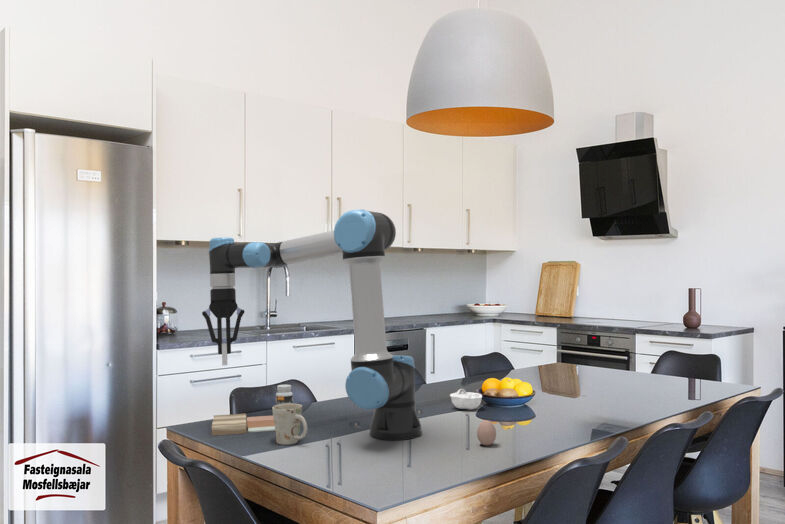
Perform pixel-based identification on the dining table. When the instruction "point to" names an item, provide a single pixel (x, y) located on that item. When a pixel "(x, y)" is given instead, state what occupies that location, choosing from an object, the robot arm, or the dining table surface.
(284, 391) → the pill bottle
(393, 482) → the dining table surface
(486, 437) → the egg
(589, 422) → the dining table surface
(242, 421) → the tan wooden flat block
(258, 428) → the mat
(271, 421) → the tile
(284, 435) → the mug
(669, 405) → the dining table surface
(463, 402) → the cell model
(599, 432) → the dining table surface
